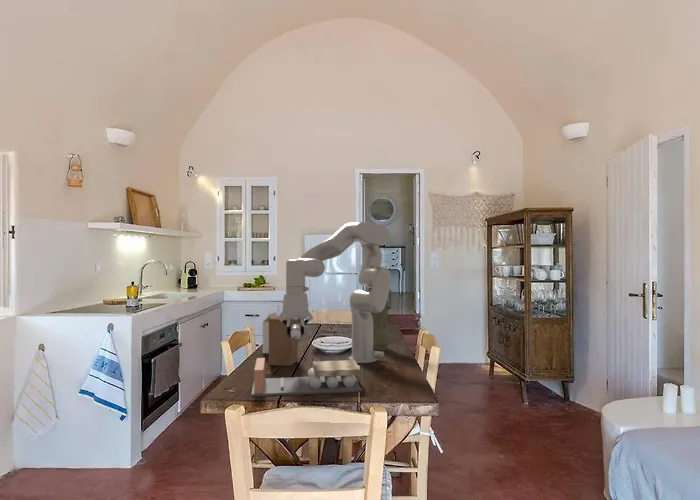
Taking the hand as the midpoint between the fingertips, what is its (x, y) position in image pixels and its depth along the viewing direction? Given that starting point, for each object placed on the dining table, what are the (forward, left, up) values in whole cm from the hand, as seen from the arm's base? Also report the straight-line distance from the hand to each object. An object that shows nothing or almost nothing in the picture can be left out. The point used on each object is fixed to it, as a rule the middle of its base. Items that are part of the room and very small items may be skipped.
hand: (295, 335), depth 191 cm
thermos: (-42, -41, -16) cm, 61 cm away
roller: (0, 0, 0) cm, 0 cm away
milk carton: (+10, -41, -16) cm, 45 cm away
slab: (-14, +17, -10) cm, 24 cm away
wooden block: (+5, -19, -16) cm, 25 cm away
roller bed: (-3, +17, -15) cm, 23 cm away
